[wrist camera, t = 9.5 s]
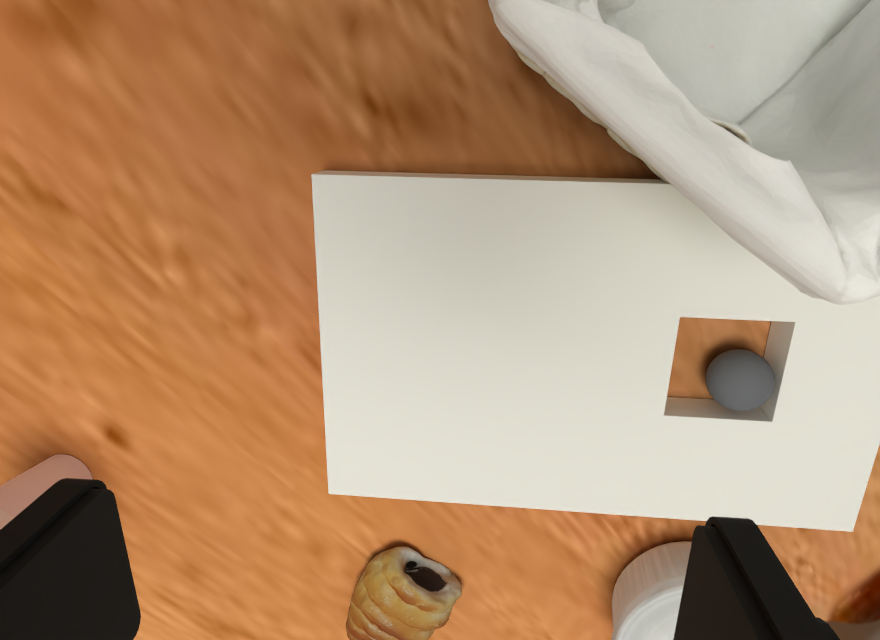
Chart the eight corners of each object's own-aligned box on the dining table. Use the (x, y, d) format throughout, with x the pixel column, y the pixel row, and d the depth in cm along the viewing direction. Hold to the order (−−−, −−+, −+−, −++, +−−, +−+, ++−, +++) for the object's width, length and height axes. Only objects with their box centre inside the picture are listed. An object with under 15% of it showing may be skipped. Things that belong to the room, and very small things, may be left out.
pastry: (403, 652, 45) (395, 698, 41) (328, 610, 44) (313, 653, 41) (469, 574, 42) (466, 616, 38) (389, 527, 41) (378, 566, 38)
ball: (756, 379, 30) (796, 360, 32) (699, 348, 33) (738, 331, 34) (739, 431, 32) (778, 410, 33) (687, 398, 34) (724, 380, 36)
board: (338, 471, 40) (328, 493, 37) (324, 170, 33) (311, 174, 31) (830, 505, 37) (852, 531, 35) (920, 186, 30) (956, 191, 28)
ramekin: (746, 661, 42) (779, 734, 37) (589, 643, 43) (601, 712, 38) (783, 534, 38) (826, 596, 33) (611, 517, 39) (628, 575, 34)
